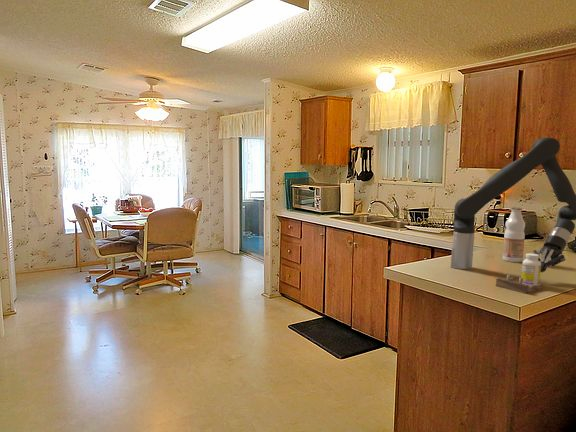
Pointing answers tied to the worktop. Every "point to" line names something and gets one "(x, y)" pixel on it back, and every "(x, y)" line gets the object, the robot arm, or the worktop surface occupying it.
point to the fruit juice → (514, 236)
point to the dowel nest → (517, 285)
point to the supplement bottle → (531, 269)
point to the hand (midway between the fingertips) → (540, 271)
